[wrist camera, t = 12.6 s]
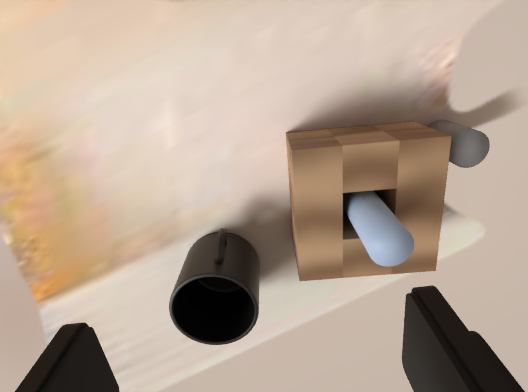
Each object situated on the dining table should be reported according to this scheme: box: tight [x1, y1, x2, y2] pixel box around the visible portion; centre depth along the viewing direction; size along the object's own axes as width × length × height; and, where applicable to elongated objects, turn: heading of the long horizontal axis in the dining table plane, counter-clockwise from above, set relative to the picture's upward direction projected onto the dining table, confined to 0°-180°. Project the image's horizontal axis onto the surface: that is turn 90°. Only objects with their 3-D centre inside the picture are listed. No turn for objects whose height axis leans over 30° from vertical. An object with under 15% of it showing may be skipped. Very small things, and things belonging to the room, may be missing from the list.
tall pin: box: [343, 190, 414, 267], centre depth 33 cm, size 4×4×14 cm
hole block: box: [286, 121, 452, 281], centre depth 36 cm, size 14×14×8 cm
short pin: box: [428, 120, 489, 168], centre depth 34 cm, size 4×4×6 cm
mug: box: [169, 228, 259, 345], centre depth 39 cm, size 9×12×9 cm
